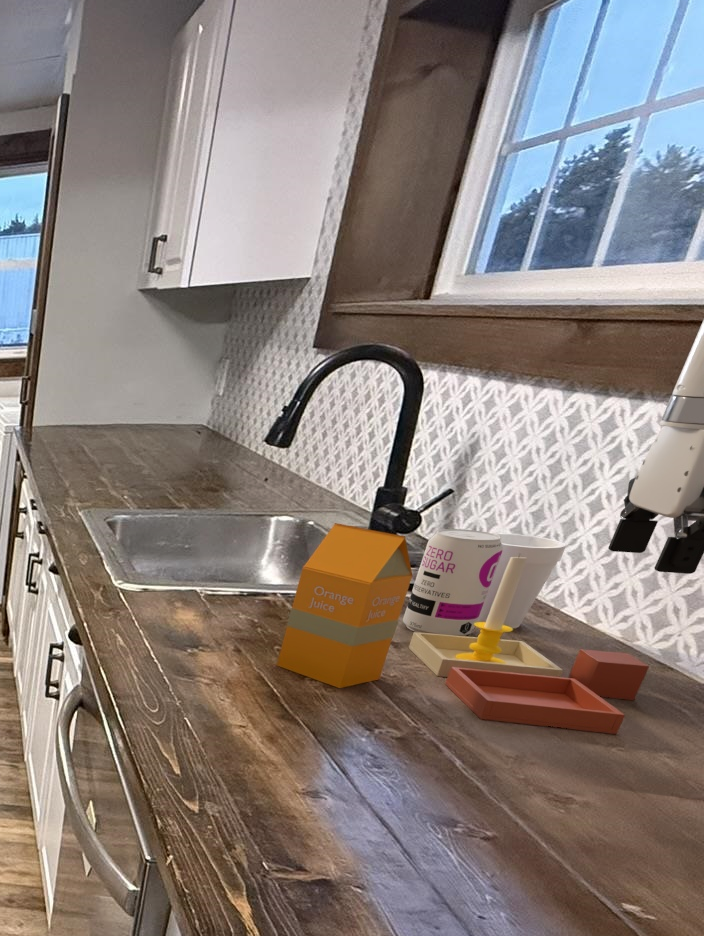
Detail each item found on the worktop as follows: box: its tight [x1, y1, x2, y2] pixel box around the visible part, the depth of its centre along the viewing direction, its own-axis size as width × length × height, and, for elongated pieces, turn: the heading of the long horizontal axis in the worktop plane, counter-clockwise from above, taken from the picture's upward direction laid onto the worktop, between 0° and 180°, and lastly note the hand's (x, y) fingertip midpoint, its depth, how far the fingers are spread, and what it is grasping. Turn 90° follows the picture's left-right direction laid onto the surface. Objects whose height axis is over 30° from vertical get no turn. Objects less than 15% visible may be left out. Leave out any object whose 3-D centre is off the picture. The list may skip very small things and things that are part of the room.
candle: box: [455, 553, 527, 664], centre depth 110 cm, size 5×5×16 cm
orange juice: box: [276, 522, 413, 689], centre depth 110 cm, size 8×9×20 cm
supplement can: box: [402, 528, 503, 636], centre depth 123 cm, size 8×8×15 cm
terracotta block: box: [567, 648, 650, 701], centre depth 104 cm, size 5×5×5 cm
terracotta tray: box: [444, 667, 626, 735], centre depth 101 cm, size 12×11×2 cm
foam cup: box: [477, 532, 567, 629], centre depth 126 cm, size 10×9×13 cm
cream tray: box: [408, 631, 564, 678], centre depth 113 cm, size 12×11×2 cm
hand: (648, 561), depth 99 cm, fingers open, 9 cm apart
